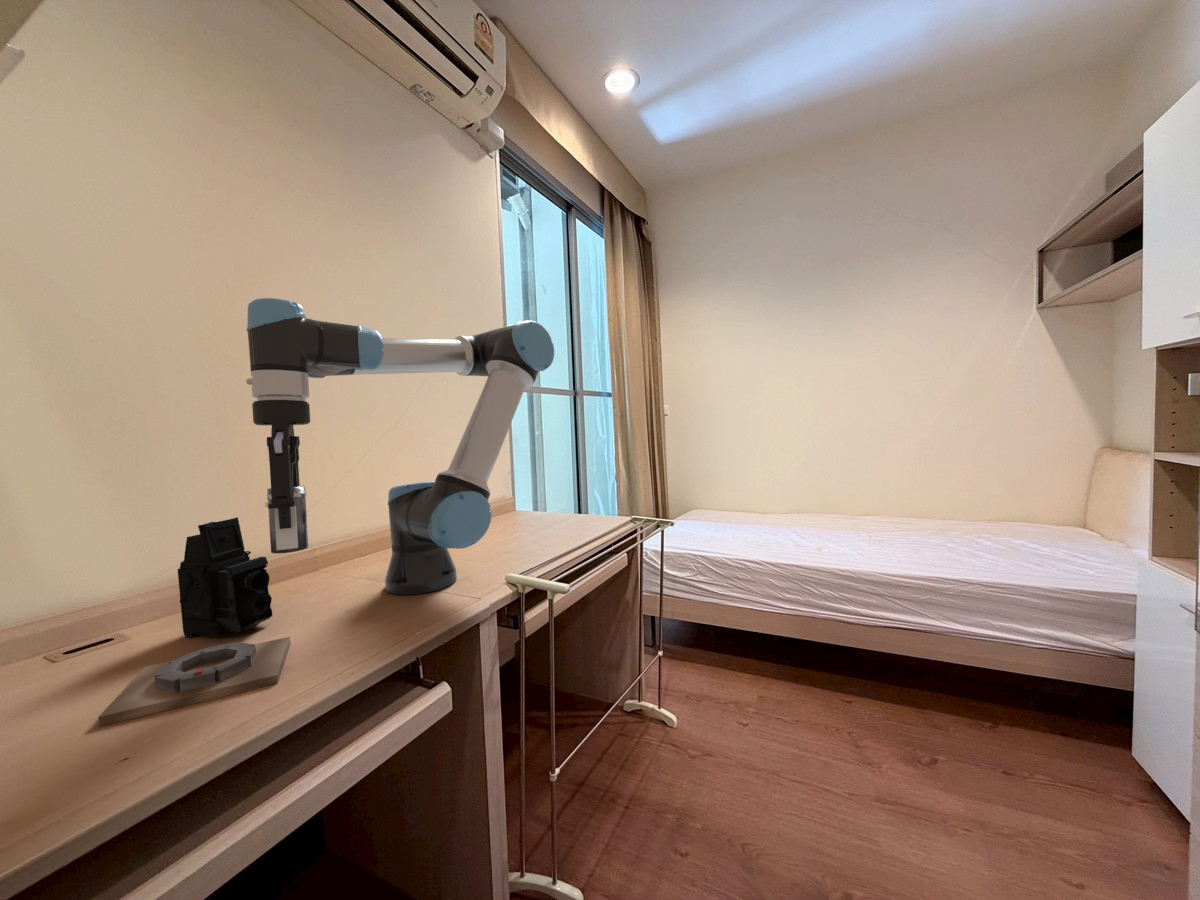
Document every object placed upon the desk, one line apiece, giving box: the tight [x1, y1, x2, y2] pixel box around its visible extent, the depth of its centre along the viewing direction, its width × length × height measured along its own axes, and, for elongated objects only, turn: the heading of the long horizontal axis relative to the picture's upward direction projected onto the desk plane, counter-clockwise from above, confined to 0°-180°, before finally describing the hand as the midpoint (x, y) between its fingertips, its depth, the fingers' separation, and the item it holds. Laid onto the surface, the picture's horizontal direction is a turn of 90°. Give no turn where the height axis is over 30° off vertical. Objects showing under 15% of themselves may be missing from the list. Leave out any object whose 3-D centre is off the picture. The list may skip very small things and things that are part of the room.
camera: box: [177, 516, 273, 639], centre depth 83 cm, size 10×14×20 cm
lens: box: [264, 485, 309, 554], centre depth 74 cm, size 6×5×10 cm
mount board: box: [97, 636, 291, 727], centre depth 67 cm, size 18×14×3 cm
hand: (289, 544), depth 74 cm, fingers closed on lens, 5 cm apart
